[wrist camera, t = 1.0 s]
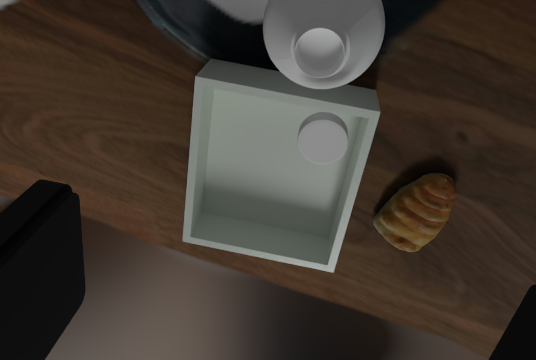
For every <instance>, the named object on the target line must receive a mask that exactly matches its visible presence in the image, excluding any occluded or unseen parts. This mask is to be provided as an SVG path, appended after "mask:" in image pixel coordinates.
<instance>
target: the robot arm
mask: <svg viewBox="0 0 536 360" xmlns="http://www.w3.org/2000/svg"><path fill="white" fill-rule="evenodd" d="M84 295H85V274H84V260H83V245H82V230H81V215H80V200H79V196H78V194H76V193H73V192H72V189H71V187H70V186H69V185H68V184H63V183H58V182H53V181H48V180H38V181H37V182H35V183H34V184H33V185H32V186H31V187H30V188H29V189H27V190H26V191H25V192H24V193H23V194H22V195H21V196H19V197H18V198H17V199H16V200H15V201H14V202H13V203H12V204H10V205H9V206H8V207H7V208H6V209H5V210H4V211H2V212H1V213H0V360H45V358H46V357H47V356H48V354H49V353H50V351H51V349H52V348H53V346H54V345H55V343H56V342H57V340H58V339H59V337H60V336H61V334H62V333H63V331H64V330H65V328H66V327H67V325H68V324H69V322H70V321H71V319H72V317H73V316H74V315H75V313H76V312H77V310H78V309H79V307H80V306H81V304H82V301H83V299H84ZM489 360H536V285H533V286H531V287H530V288H529V290H528V292H527V293H526V295H525V297H524V299H523V300H522V302H521V304H520V306H519V307H518V309H517V311H516V313H515V314H514V316H513V318H512V320H511V321H510V323H509V325H508V327H507V328H506V330H505V332H504V334H503V335H502V337H501V339H500V341H499V342H498V344H497V346H496V348H495V349H494V351H493V353H492V355H491V356H490V358H489Z"/></svg>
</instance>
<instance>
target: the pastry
mask: <svg viewBox="0 0 536 360" xmlns="http://www.w3.org/2000/svg"><path fill="white" fill-rule="evenodd" d="M456 196H457V194H456V189H455V186H454V181H453V179H452V178H451V177H449V176H448V175H446V174H442V173H428V174H425V175H423V176H422V177H420V178H418V179H417V180H416V181H414V182H411V183H409V184H408V185H406V186H403V187H401V188H399V190H398V192H397V193H395V194H394V195H393V196H392V197H391V199H390V200H389V201H388V202H386V204H385V205H384V206H383V207H382V208H381V209H380V211H379V213H377V214H376V216H375V217H374V218H373V224H374V226H375V227H376V228H377V230H378V232H379V233H381V234H382V235H383V236H384V238H385V239H386V240H387V241H388V242H389V243H391V244H392V245H394V246H395V247H397V248H398V249H400V250H405V251H407V252H415V251H419V250H420V248H421V247H422V246H423V245H425V244H427V243H428V242H429V241H431V240H432V239H433V238H435V237H436V235H437V234H438V232H439V231H440V229H442V228H443V226H444V225H445V223H446V221H447V220H448V218H449V214H450V213H451V211H452V205H453V203H454V200H455V198H456Z"/></svg>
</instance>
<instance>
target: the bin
mask: <svg viewBox="0 0 536 360" xmlns="http://www.w3.org/2000/svg"><path fill="white" fill-rule="evenodd" d="M317 112H329V113H333V114H335V115H337V116H338V117H340V118H341V119H342V120H343V121H344V123H345V124H346V126H347V129H348V136H349V138H348V147H347V151H346V152H345V154H344V155H343V156H342V157H341V158H340V159H339V160H338V161H336V162H334V163H331V164H327V165H318V164H315V163H312V162H310V161H308V160H307V159H306V158H304V157H303V156H302V154H301V153H300V151H299V149H298V144H297V138H298V132H299V128H300V126H301V124H302V122H303V121H304V120H305V119H306V118H307V117H308V116H310V115H312V114H314V113H317ZM379 116H380V107H379V102H378V98H377V93H376V90H373V89H368V88H363V87H357V86H352V85H347V84H345V85H342V86H339V87H335V88H330V89H313V88H308V87H305V86H302V85H299V84H297V83H295V82H293V81H292V80H290V79H289V78H287V77H286V76H285V75H284V74H282V73H281V72H279V71H274V70H269V69H263V68H258V67H253V66H248V65H243V64H237V63H232V62H227V61H222V60H217V59H210V60H209V62H208V63H207V64H206V65H205V66H204V67H203V68H202V69H201V71H200V72H199V73H198V74H197V75H196V76H195V88H194V101H193V113H192V126H191V139H190V152H189V165H188V178H187V191H186V204H185V217H184V230H183V242H188V243H193V244H198V245H203V246H208V247H212V248H217V249H222V250H227V251H232V252H236V253H241V254H246V255H251V256H256V257H261V258H265V259H270V260H275V261H280V262H285V263H290V264H294V265H299V266H304V267H309V268H314V269H319V270H323V271H328V272H334V269H335V265H336V262H337V259H338V255H339V252H340V248H341V245H342V242H343V238H344V235H345V231H346V228H347V225H348V221H349V218H350V214H351V211H352V208H353V204H354V201H355V197H356V194H357V190H358V187H359V184H360V180H361V177H362V173H363V170H364V167H365V163H366V160H367V156H368V153H369V150H370V146H371V143H372V139H373V136H374V133H375V129H376V126H377V122H378V119H379Z"/></svg>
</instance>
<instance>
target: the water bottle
mask: <svg viewBox="0 0 536 360" xmlns="http://www.w3.org/2000/svg"><path fill="white" fill-rule="evenodd" d="M384 31H385V16H384V10H383V5H382V2H381V0H269V1H268V4H267V7H266V10H265V14H264V20H263V35H264V41H265V45H266V49H267V52H268V54H269V57H270V59H271V60H272V62H273V63H274V64H275V66H276V67H277V68H278V69H279V71H280V72H281V73H282V74H284V75H285V76H286V77H287V78H289V79H290V80H292V81H293V82H295V83H297V84H299V85H302V86H305V87H308V88H313V89H330V88H335V87H339V86H342V85H345V84H347V83H349V82H351V81H353V80H354V79H356V78H357V77H359V76H360V75H361V74H362V73H363V72H364V71H365V70H366V69H367V68H368V67H369V66H370V65H371V63H372V62H373V61H374V59H375V57H376V56H377V54H378V52H379V50H380V47H381V44H382V41H383V37H384ZM348 138H349V136H348V129H347V126H346V124H345V123H344V121H343V120H342V119H341V118H340V117H338V116H337V115H335V114H333V113H329V112H317V113H314V114H312V115H310V116H308V117H307V118H306V119H305V120H304V121H303V122H302V124H301V126H300V128H299V132H298V138H297V144H298V149H299V151H300V153H301V154H302V156H303V157H304V158H306V159H307V160H308V161H310V162H312V163H315V164H318V165H327V164H331V163H334V162H336V161H338V160H339V159H340V158H341V157H342V156H343V155H344V154H345V152H346V151H347V147H348Z"/></svg>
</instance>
